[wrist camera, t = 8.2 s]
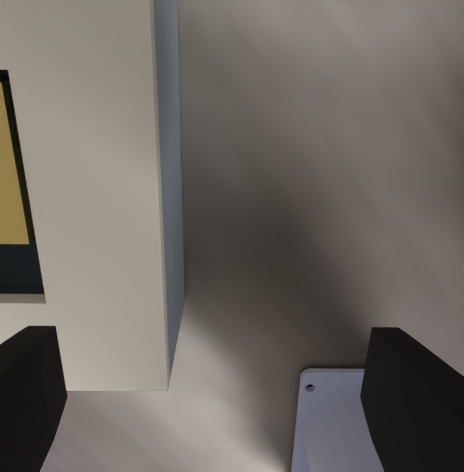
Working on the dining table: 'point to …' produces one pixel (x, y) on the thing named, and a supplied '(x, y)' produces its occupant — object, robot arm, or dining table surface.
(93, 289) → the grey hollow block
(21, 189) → the gold block
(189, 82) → the dining table surface
